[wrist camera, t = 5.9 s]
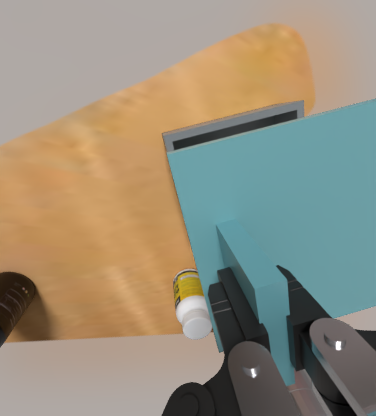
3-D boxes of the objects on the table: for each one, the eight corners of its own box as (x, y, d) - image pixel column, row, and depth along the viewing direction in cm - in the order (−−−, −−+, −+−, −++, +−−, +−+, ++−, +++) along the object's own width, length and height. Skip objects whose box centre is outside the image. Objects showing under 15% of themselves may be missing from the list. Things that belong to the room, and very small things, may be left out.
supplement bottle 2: (171, 270, 37) (176, 317, 28) (202, 265, 38) (217, 310, 29) (174, 295, 39) (179, 346, 30) (204, 290, 40) (218, 339, 31)
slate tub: (276, 104, 30) (303, 100, 25) (282, 186, 35) (306, 199, 29) (161, 133, 29) (163, 135, 24) (183, 213, 34) (188, 231, 28)
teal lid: (467, 72, 12) (797, 17, 6) (426, 262, 16) (585, 344, 10) (165, 149, 11) (176, 180, 5) (211, 325, 16) (246, 451, 10)
